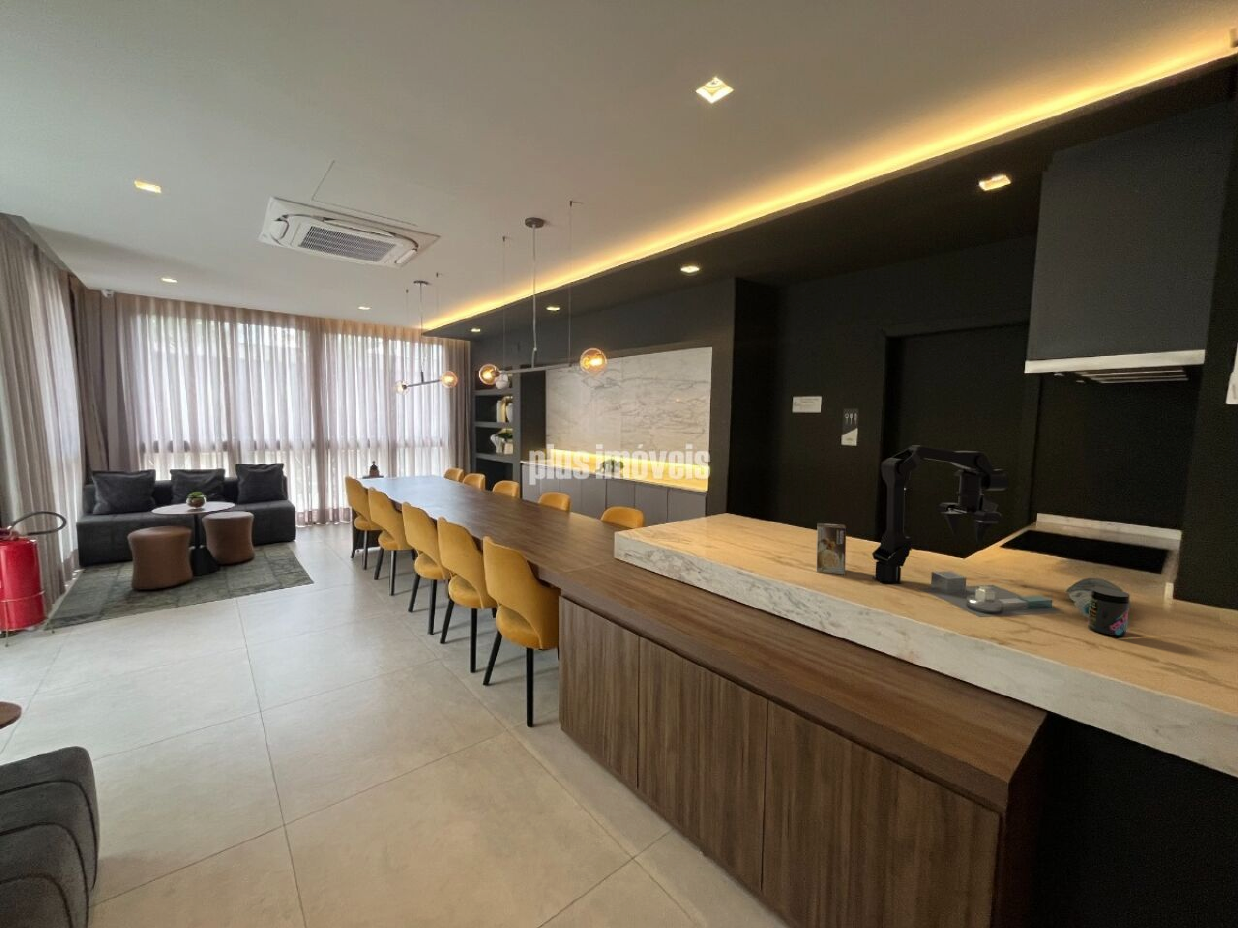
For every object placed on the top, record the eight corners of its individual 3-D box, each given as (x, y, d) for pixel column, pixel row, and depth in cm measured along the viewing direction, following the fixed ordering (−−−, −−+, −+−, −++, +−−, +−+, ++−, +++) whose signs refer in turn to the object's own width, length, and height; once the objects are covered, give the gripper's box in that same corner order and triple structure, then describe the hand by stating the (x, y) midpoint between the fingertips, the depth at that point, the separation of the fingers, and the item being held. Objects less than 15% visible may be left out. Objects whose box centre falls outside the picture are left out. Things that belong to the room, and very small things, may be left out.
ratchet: (983, 615, 130) (984, 592, 130) (959, 603, 138) (960, 582, 138) (1060, 610, 133) (1062, 588, 132) (1032, 599, 141) (1033, 579, 140)
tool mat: (979, 618, 129) (979, 616, 129) (919, 589, 151) (919, 588, 151) (1064, 613, 132) (1064, 612, 132) (993, 585, 154) (993, 584, 154)
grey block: (946, 594, 145) (947, 578, 145) (930, 587, 151) (931, 571, 151) (965, 593, 146) (966, 577, 145) (949, 586, 152) (950, 571, 152)
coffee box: (844, 569, 171) (846, 524, 169) (845, 574, 165) (847, 528, 163) (816, 566, 174) (817, 522, 173) (815, 571, 168) (817, 526, 167)
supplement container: (1104, 638, 117) (1108, 596, 116) (1079, 626, 123) (1083, 586, 122) (1134, 639, 116) (1138, 597, 115) (1108, 627, 123) (1111, 587, 122)
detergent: (1069, 593, 146) (1052, 613, 130) (1074, 570, 145) (1057, 588, 129) (1132, 610, 136) (1122, 634, 120) (1137, 585, 135) (1128, 606, 119)
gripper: (1019, 494, 149) (1015, 545, 150) (968, 486, 167) (965, 531, 169) (986, 494, 147) (982, 545, 149) (938, 486, 166) (935, 531, 167)
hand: (966, 538), depth 158 cm, fingers open, 9 cm apart
